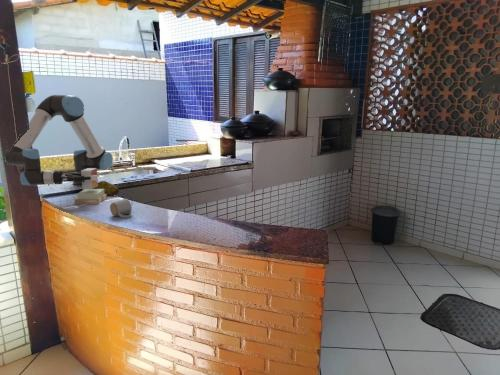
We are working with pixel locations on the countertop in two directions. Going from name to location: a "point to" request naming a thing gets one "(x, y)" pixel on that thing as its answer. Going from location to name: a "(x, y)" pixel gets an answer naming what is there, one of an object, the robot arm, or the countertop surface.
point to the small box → (91, 183)
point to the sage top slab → (90, 194)
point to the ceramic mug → (121, 208)
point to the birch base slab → (90, 200)
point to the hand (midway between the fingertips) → (98, 175)
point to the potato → (108, 188)
